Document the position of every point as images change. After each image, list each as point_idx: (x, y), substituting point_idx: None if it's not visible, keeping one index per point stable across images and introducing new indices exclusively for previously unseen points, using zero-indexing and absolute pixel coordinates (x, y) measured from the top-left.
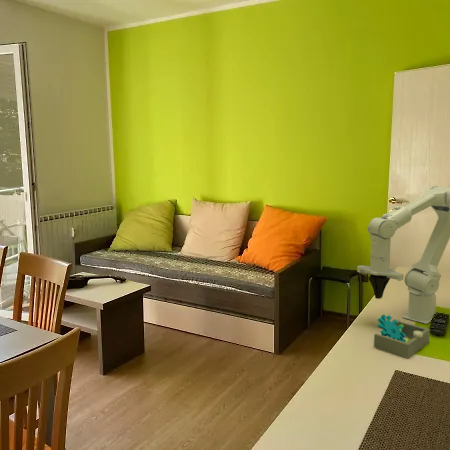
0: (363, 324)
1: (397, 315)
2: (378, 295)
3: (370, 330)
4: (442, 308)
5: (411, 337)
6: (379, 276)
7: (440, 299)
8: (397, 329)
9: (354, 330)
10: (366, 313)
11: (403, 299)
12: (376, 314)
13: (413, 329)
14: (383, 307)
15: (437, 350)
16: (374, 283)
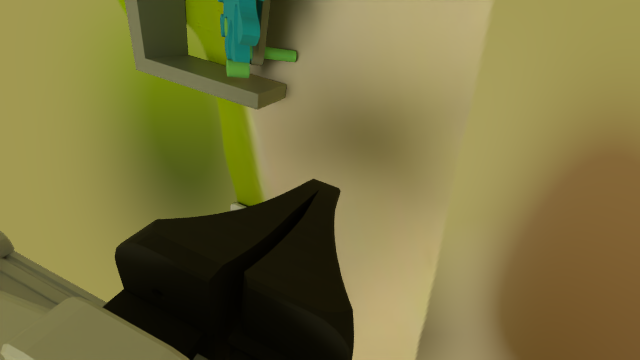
0: (426, 124)
1: None
2: (304, 185)
3: (383, 67)
4: None
5: (225, 66)
6: (194, 341)
7: None
8: (226, 4)
9: (465, 21)
10: (429, 241)
11: None
12: (389, 240)
13: (195, 69)
14: (377, 297)
15: None
16: (289, 250)
